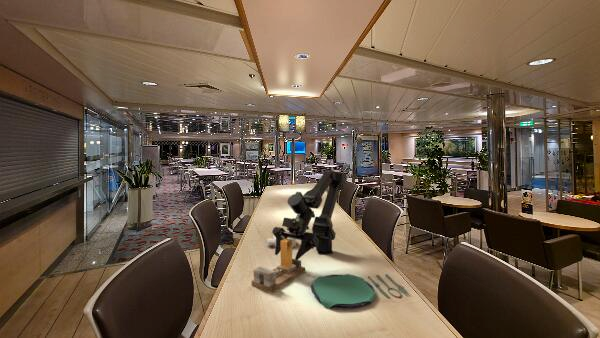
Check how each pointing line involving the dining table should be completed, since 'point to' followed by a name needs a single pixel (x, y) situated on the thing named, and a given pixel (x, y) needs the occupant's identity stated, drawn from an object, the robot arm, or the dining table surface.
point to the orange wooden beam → (286, 257)
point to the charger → (273, 241)
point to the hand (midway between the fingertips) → (285, 257)
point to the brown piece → (275, 277)
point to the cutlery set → (348, 290)
